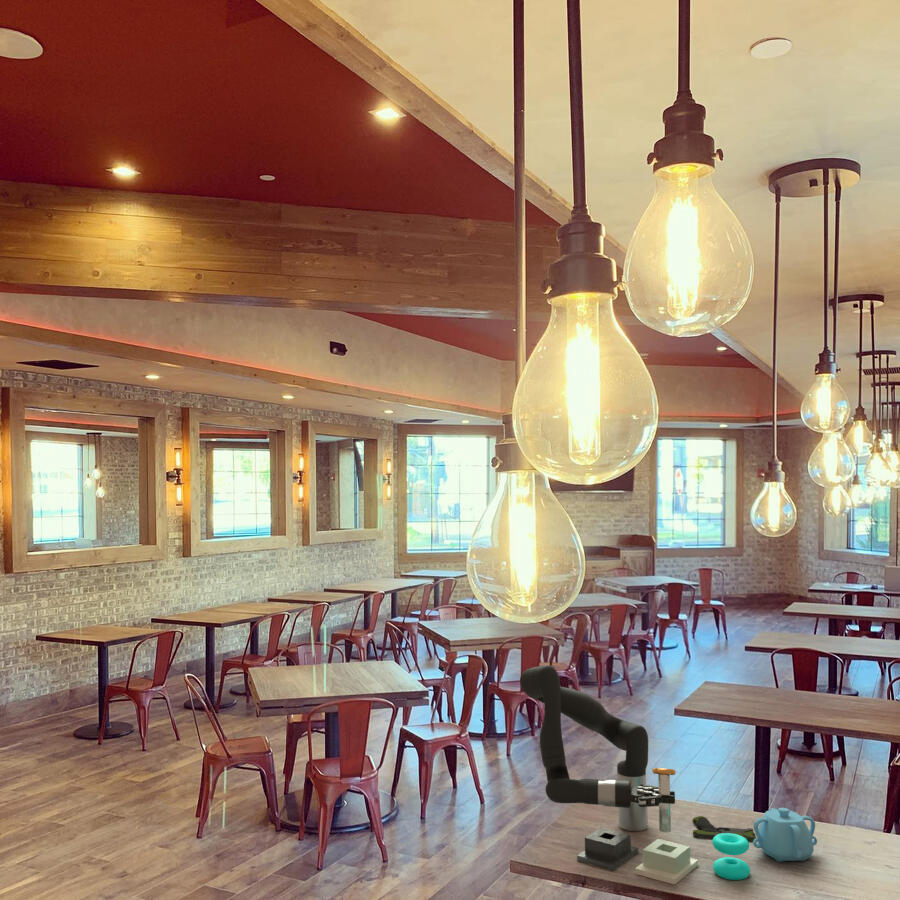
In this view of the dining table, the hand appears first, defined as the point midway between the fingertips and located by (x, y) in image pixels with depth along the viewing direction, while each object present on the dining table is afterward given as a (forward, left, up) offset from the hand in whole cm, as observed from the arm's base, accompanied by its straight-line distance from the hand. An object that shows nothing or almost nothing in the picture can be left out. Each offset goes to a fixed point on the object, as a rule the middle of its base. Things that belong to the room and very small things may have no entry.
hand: (674, 797), depth 252 cm
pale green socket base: (+1, -2, -21) cm, 21 cm away
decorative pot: (-29, +22, -21) cm, 42 cm away
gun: (-36, 0, -21) cm, 42 cm away
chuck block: (+3, -20, -21) cm, 29 cm away
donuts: (-7, +14, -21) cm, 26 cm away
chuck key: (+1, -3, -9) cm, 10 cm away
